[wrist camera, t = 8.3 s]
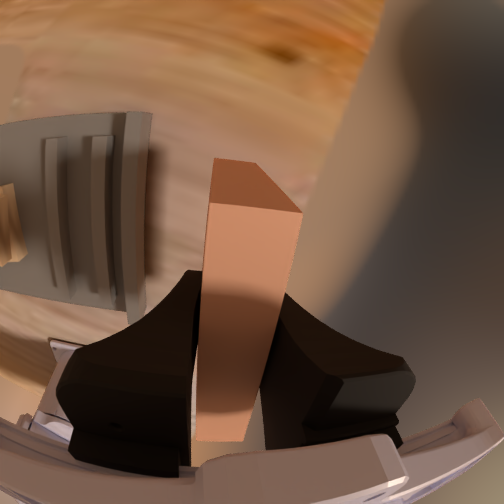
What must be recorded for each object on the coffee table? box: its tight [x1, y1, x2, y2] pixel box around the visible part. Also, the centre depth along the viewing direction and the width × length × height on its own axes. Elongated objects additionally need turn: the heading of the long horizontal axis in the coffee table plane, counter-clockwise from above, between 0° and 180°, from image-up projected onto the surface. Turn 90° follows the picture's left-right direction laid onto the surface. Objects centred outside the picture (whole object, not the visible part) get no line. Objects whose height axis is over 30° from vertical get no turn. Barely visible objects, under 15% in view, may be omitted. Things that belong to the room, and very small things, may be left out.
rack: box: [0, 112, 152, 325], centre depth 16 cm, size 15×17×2 cm
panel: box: [196, 158, 303, 442], centre depth 12 cm, size 10×2×8 cm, turn 171°
